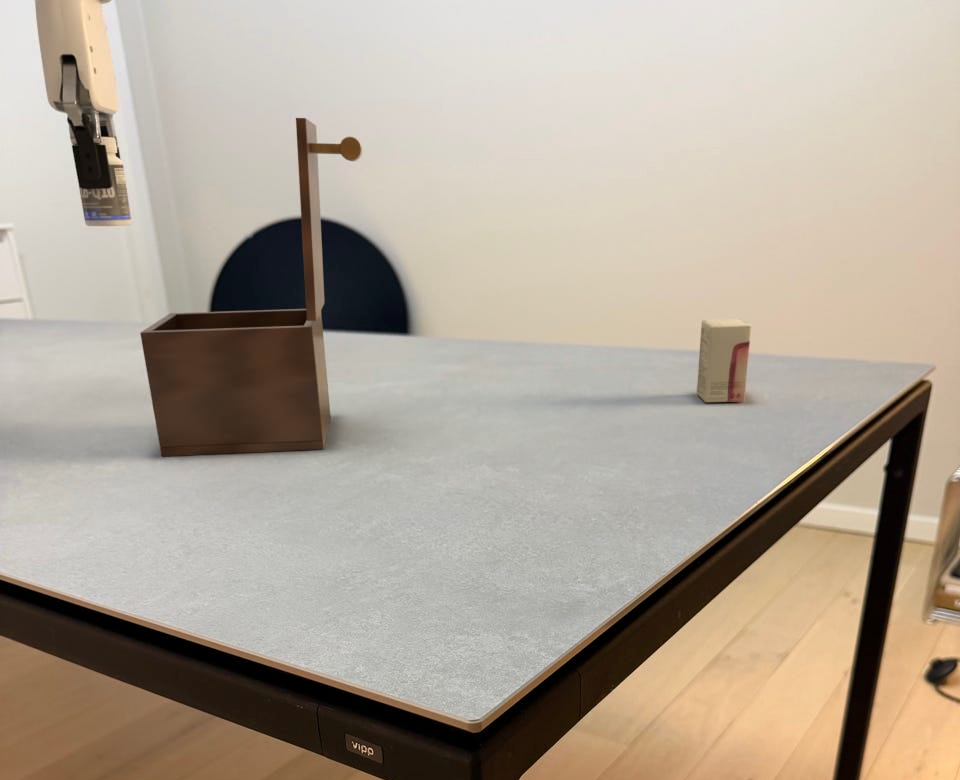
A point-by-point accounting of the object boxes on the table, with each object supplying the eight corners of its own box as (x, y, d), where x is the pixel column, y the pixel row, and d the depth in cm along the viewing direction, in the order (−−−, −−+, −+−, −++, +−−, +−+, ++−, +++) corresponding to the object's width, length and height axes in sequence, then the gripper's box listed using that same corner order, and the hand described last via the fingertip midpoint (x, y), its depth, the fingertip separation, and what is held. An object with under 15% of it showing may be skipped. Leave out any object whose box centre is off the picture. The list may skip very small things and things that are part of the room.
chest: (161, 456, 86) (139, 332, 81) (187, 423, 97) (169, 313, 92) (323, 449, 87) (312, 326, 82) (330, 418, 98) (320, 308, 93)
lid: (295, 117, 75) (359, 119, 76) (307, 125, 86) (362, 126, 87) (306, 321, 82) (365, 321, 82) (316, 303, 93) (367, 303, 94)
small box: (745, 403, 100) (753, 325, 97) (704, 403, 101) (710, 325, 97) (734, 393, 105) (741, 318, 101) (695, 393, 105) (701, 319, 102)
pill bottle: (78, 226, 100) (62, 136, 96) (95, 225, 104) (80, 138, 101) (123, 226, 100) (108, 135, 96) (138, 224, 104) (125, 137, 100)
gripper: (53, -3, 100) (87, 189, 108) (-3, -37, 85) (41, 189, 92) (127, -3, 100) (155, 188, 108) (84, -37, 85) (120, 188, 93)
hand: (102, 186), depth 100 cm, fingers closed on pill bottle, 4 cm apart
